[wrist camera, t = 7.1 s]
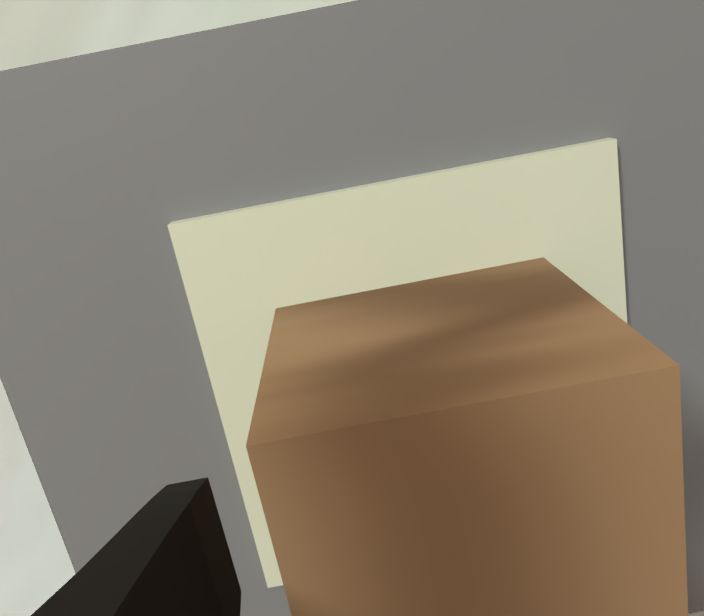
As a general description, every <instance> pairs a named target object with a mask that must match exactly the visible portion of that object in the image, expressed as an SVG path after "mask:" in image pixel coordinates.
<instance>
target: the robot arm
mask: <svg viewBox="0 0 704 616" xmlns="http://www.w3.org/2000/svg"><path fill="white" fill-rule="evenodd" d="M240 609H241V588H240V585H239V581H238V578H237V575H236V571H235V568H234V564H233V561H232V558H231V554H230V551H229V547H228V544H227V540H226V537H225V534H224V530H223V527H222V523H221V520H220V517H219V513H218V510H217V506H216V503H215V499H214V496H213V493H212V489H211V486H210V482H209V479H208V477H207V478H201V479H196V480H190V481H185V482H179V483H174V484H168V485H166V486H165V487H164V488H163V489H161V490H160V491H159V492H158V493H157V494H156V495H155V496H154V497H153V498H151V499H150V500H149V501H148V502H147V503H146V504H145V505H144V506H143V507H142V508H141V509H140V510H139V511H138V512H137V513H136V514H135V515H134V516H133V517H132V518H131V519H130V520H129V521H128V522H127V523H126V524H125V525H124V526H123V527H122V528H121V529H120V530H119V531H118V532H117V533H116V534H115V535H114V536H113V537H112V538H111V539H110V540H109V541H108V542H107V543H106V544H105V545H104V546H103V547H102V548H101V549H100V550H99V551H98V552H97V553H96V554H95V555H94V556H93V557H92V558H91V559H90V560H89V561H88V562H87V563H86V564H85V565H84V566H83V567H82V568H81V569H80V570H79V571H78V572H77V573H76V574H75V575H74V576H73V577H72V578H71V579H70V580H69V581H68V582H67V583H66V584H65V585H64V586H62V587H61V588H60V589H59V590H58V591H57V592H56V593H55V594H54V595H53V596H52V597H51V598H49V599H48V600H47V601H46V602H45V603H44V604H43V605H42V606H41V607H40V608H39V609H38V610H36V611H35V612H34V613H33V614H32V615H31V616H240Z"/></svg>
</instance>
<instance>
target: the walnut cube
mask: <svg viewBox="0 0 704 616" xmlns="http://www.w3.org/2000/svg"><path fill="white" fill-rule="evenodd" d="M246 449H247V452H248V456H249V460H250V463H251V467H252V471H253V474H254V478H255V482H256V486H257V489H258V493H259V497H260V500H261V504H262V508H263V511H264V515H265V519H266V523H267V526H268V530H269V534H270V537H271V541H272V545H273V548H274V552H275V556H276V560H277V563H278V567H279V571H280V574H281V578H282V582H283V585H284V589H285V593H286V597H287V600H288V604H289V608H290V611H291V615H292V616H688V596H687V566H686V537H685V508H684V478H683V449H682V419H681V390H680V365H679V364H678V363H676V362H675V361H674V360H673V359H671V358H670V357H669V356H667V355H666V354H665V353H664V352H662V351H661V350H660V349H659V348H657V347H656V346H655V345H654V344H652V343H651V342H650V341H649V340H647V339H646V338H645V337H643V336H642V335H641V334H640V333H638V332H637V331H636V330H635V329H633V328H632V327H631V326H630V325H628V324H627V323H626V322H625V321H623V320H622V319H621V318H619V317H618V316H617V315H616V314H614V313H613V312H612V311H611V310H609V309H608V308H607V307H606V306H604V305H603V304H602V303H600V302H599V301H598V300H597V299H595V298H594V297H593V296H592V295H590V294H589V293H588V292H587V291H585V290H584V289H583V288H582V287H580V286H579V285H578V284H576V283H575V282H574V281H573V280H571V279H570V278H569V277H568V276H566V275H565V274H564V273H563V272H561V271H560V270H559V269H558V268H556V267H555V266H554V265H552V264H551V263H550V262H549V261H547V260H546V259H545V258H544V257H542V258H537V259H532V260H526V261H521V262H516V263H511V264H505V265H500V266H495V267H490V268H485V269H479V270H474V271H469V272H464V273H458V274H453V275H448V276H443V277H437V278H432V279H427V280H422V281H416V282H411V283H406V284H401V285H395V286H390V287H385V288H380V289H374V290H369V291H364V292H359V293H354V294H348V295H343V296H338V297H333V298H327V299H322V300H317V301H312V302H306V303H301V304H296V305H291V306H285V307H280V308H276V310H275V314H274V319H273V323H272V328H271V333H270V337H269V342H268V346H267V351H266V356H265V360H264V365H263V369H262V374H261V379H260V383H259V388H258V392H257V397H256V402H255V406H254V411H253V415H252V420H251V425H250V429H249V434H248V438H247V443H246Z"/></svg>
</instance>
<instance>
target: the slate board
mask: <svg viewBox="0 0 704 616" xmlns="http://www.w3.org/2000/svg"><path fill="white" fill-rule="evenodd" d="M542 257H544V258H545V259H546V260H547V261H549V262H550V263H551V264H552V265H554V266H555V267H556V268H558V269H559V270H560V271H561V272H563V273H564V274H565V275H566V276H568V277H569V278H570V279H571V280H573V281H574V282H575V283H576V284H578V285H579V286H580V287H582V288H583V289H584V290H585V291H587V292H588V293H589V294H590V295H592V296H593V297H594V298H595V299H597V300H598V301H599V302H600V303H602V304H603V305H604V306H606V307H607V308H608V309H609V310H611V311H612V312H613V313H614V314H616V315H617V316H618V317H619V318H621V319H622V320H623V321H625V322H626V323H627V324H628V325H630V326H631V327H632V328H633V329H635V330H636V331H637V332H638V333H640V334H641V335H642V336H643V337H645V338H646V339H647V340H649V341H650V342H651V343H652V344H654V345H655V346H656V347H657V348H659V349H660V350H661V351H662V352H664V353H665V354H666V355H667V356H669V357H670V358H671V359H673V360H674V361H675V362H676V363H678V364H679V365H680V390H681V419H682V449H683V478H684V508H685V537H686V566H687V596H688V613H692V612H698V611H704V0H357V1H352V2H347V3H342V4H337V5H332V6H327V7H322V8H317V9H312V10H307V11H302V12H297V13H292V14H287V15H281V16H276V17H271V18H266V19H261V20H256V21H251V22H246V23H241V24H236V25H231V26H226V27H221V28H216V29H211V30H206V31H201V32H196V33H191V34H186V35H181V36H176V37H170V38H165V39H160V40H155V41H150V42H145V43H140V44H135V45H130V46H125V47H120V48H115V49H110V50H105V51H100V52H95V53H90V54H85V55H80V56H75V57H70V58H65V59H59V60H54V61H49V62H44V63H39V64H34V65H29V66H24V67H19V68H14V69H9V70H4V71H0V378H1V381H2V383H3V386H4V388H5V391H6V394H7V396H8V399H9V401H10V404H11V406H12V409H13V412H14V414H15V417H16V419H17V422H18V425H19V427H20V430H21V432H22V435H23V438H24V440H25V443H26V445H27V448H28V450H29V453H30V456H31V458H32V461H33V463H34V466H35V469H36V471H37V474H38V476H39V479H40V482H41V484H42V487H43V489H44V492H45V495H46V497H47V500H48V502H49V505H50V507H51V510H52V513H53V515H54V518H55V520H56V523H57V526H58V528H59V531H60V533H61V536H62V539H63V541H64V544H65V546H66V549H67V551H68V554H69V557H70V559H71V562H72V564H73V567H74V570H75V572H76V573H77V572H78V571H79V570H80V569H81V568H82V567H83V566H84V565H85V564H86V563H87V562H88V561H89V560H90V559H91V558H92V557H93V556H94V555H95V554H96V553H97V552H98V551H99V550H100V549H101V548H102V547H103V546H104V545H105V544H106V543H107V542H108V541H109V540H110V539H111V538H112V537H113V536H114V535H115V534H116V533H117V532H118V531H119V530H120V529H121V528H122V527H123V526H124V525H125V524H126V523H127V522H128V521H129V520H130V519H131V518H132V517H133V516H134V515H135V514H136V513H137V512H138V511H139V510H140V509H141V508H142V507H143V506H144V505H145V504H146V503H147V502H148V501H149V500H150V499H151V498H153V497H154V496H155V495H156V494H157V493H158V492H159V491H160V490H161V489H163V488H164V487H165V486H166V485H168V484H174V483H179V482H185V481H190V480H196V479H201V478H207V477H208V479H209V482H210V486H211V489H212V493H213V496H214V499H215V503H216V506H217V510H218V513H219V517H220V520H221V523H222V527H223V530H224V534H225V537H226V540H227V544H228V547H229V551H230V554H231V558H232V561H233V564H234V568H235V571H236V575H237V578H238V581H239V585H240V588H241V609H240V616H292V615H291V611H290V608H289V604H288V600H287V597H286V593H285V589H284V585H283V582H282V578H281V574H280V571H279V567H278V563H277V560H276V556H275V552H274V548H273V545H272V541H271V537H270V534H269V530H268V526H267V523H266V519H265V515H264V511H263V508H262V504H261V500H260V497H259V493H258V489H257V486H256V482H255V478H254V474H253V471H252V467H251V463H250V460H249V456H248V452H247V449H246V443H247V438H248V434H249V429H250V425H251V420H252V415H253V411H254V406H255V402H256V397H257V392H258V388H259V383H260V379H261V374H262V369H263V365H264V360H265V356H266V351H267V346H268V342H269V337H270V333H271V328H272V323H273V319H274V314H275V310H276V308H280V307H285V306H291V305H296V304H301V303H306V302H312V301H317V300H322V299H327V298H333V297H338V296H343V295H348V294H354V293H359V292H364V291H369V290H374V289H380V288H385V287H390V286H395V285H401V284H406V283H411V282H416V281H422V280H427V279H432V278H437V277H443V276H448V275H453V274H458V273H464V272H469V271H474V270H479V269H485V268H490V267H495V266H500V265H505V264H511V263H516V262H521V261H526V260H532V259H537V258H542Z"/></svg>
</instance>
